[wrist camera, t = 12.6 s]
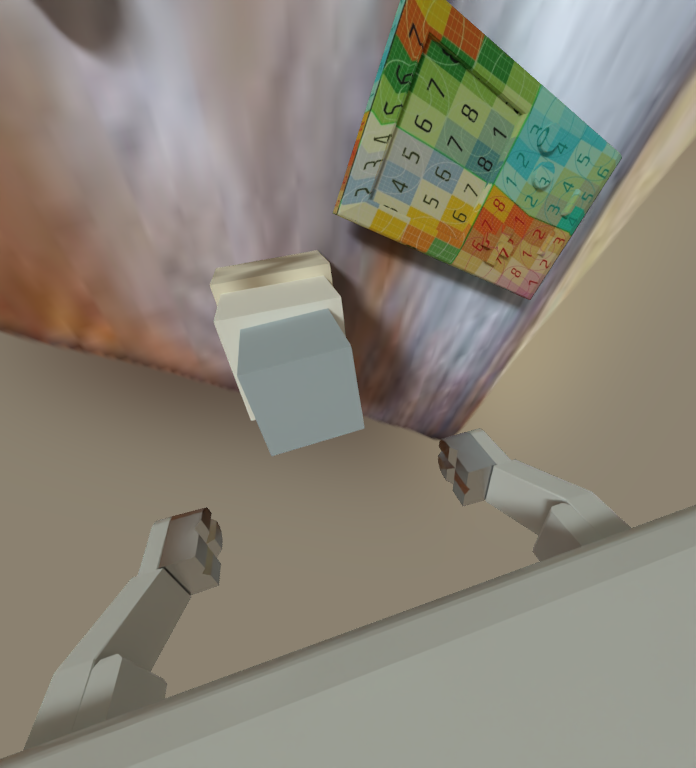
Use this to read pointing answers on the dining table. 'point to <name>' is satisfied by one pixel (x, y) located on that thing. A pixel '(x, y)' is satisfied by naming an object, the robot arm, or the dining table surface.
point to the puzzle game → (470, 154)
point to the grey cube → (299, 380)
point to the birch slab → (269, 272)
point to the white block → (271, 311)
